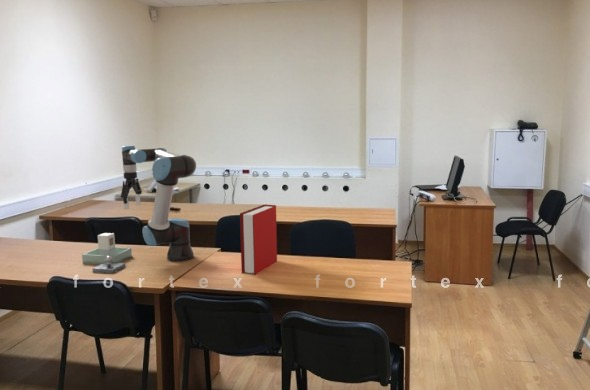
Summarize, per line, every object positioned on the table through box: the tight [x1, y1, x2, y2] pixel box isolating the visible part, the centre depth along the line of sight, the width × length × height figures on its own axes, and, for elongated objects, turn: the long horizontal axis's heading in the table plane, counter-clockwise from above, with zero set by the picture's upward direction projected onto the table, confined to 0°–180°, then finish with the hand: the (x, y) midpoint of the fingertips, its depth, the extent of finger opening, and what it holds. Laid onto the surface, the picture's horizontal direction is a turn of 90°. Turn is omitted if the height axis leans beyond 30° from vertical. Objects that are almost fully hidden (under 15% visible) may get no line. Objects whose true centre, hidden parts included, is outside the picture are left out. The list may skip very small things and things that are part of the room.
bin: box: [81, 246, 133, 265], centre depth 288 cm, size 20×18×5 cm
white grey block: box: [97, 232, 116, 256], centre depth 287 cm, size 6×7×14 cm
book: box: [239, 204, 278, 276], centre depth 269 cm, size 27×8×32 cm, turn 156°
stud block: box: [92, 256, 126, 274], centre depth 270 cm, size 12×12×7 cm
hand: (132, 206), depth 299 cm, fingers open, 13 cm apart
